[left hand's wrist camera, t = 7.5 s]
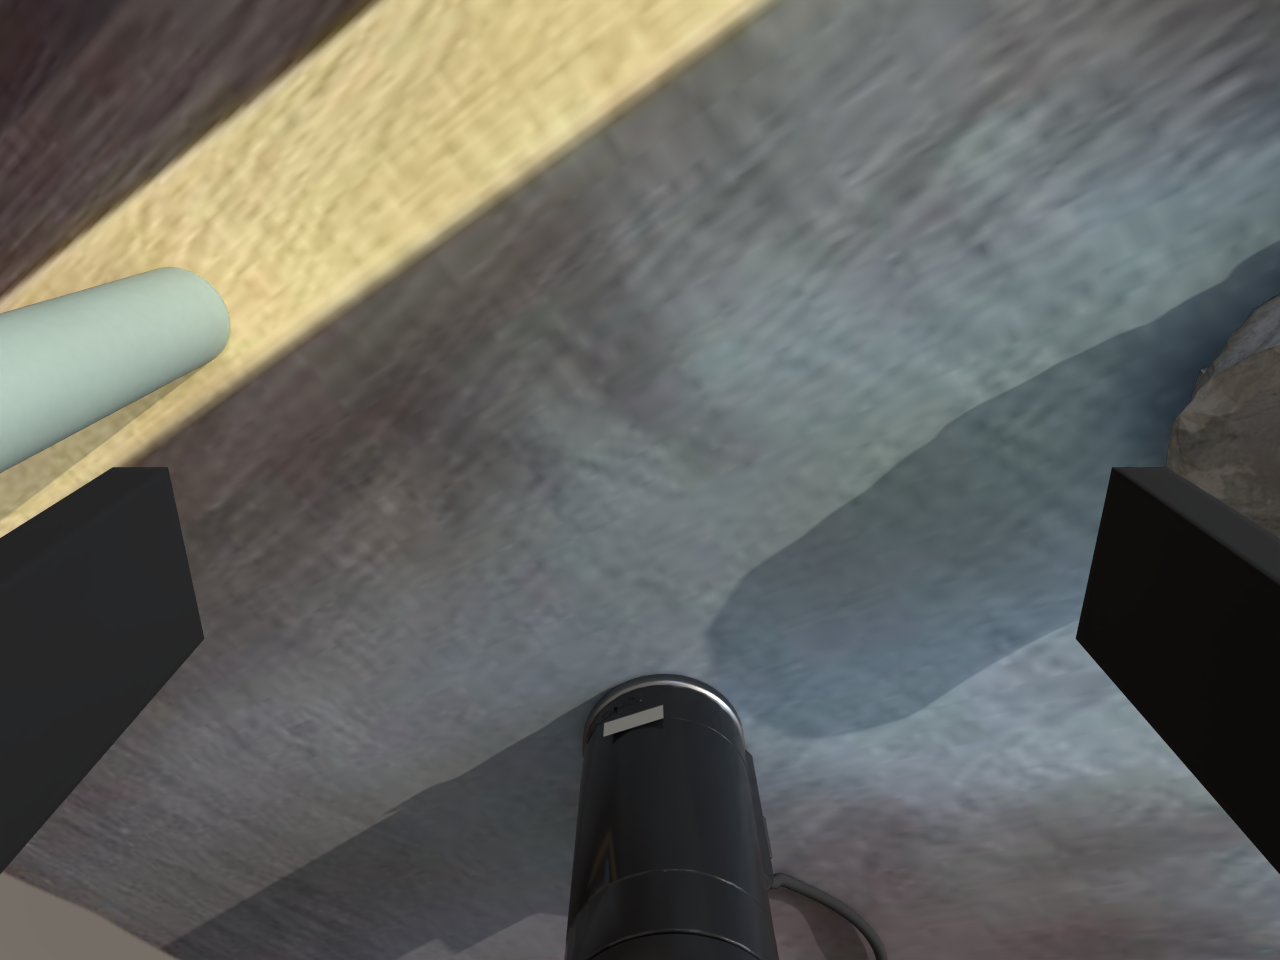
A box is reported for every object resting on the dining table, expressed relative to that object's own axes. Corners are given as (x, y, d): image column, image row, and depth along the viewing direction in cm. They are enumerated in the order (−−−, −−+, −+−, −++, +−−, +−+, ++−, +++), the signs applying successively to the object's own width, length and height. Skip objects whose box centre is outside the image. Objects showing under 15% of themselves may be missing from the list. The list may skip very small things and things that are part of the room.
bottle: (126, 260, 41) (-407, 393, 20) (229, 275, 42) (-192, 421, 21) (133, 358, 43) (-350, 574, 22) (232, 372, 43) (-153, 598, 22)
